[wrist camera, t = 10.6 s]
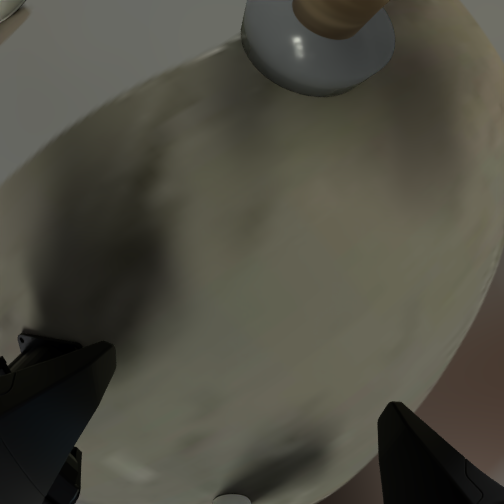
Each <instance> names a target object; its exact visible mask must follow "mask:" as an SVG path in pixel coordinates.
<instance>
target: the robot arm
mask: <svg viewBox="0 0 504 504" xmlns="http://www.w3.org/2000/svg"><path fill="white" fill-rule="evenodd" d="M22 338H23V339H24V340H23V339H22ZM18 342H19V346H20V350H21V354H20V355H19V356H18V357H17V358H16V359H15V360H14V361H13V362H11V363H10V364H9V365H8V366H7V364H6V363H7V362H6V361H5V359H4V358H3V356H1V357H0V504H75V503H76V501H77V499H78V497H79V494H80V489H81V459H82V452H81V451H80V450H79V449H78V448H77V447H74V445H75V444H76V442H77V440H78V439H79V437H80V435H81V434H82V432H83V430H84V429H85V427H86V425H87V424H88V422H89V420H90V419H91V417H92V416H93V414H94V412H95V411H96V409H97V407H98V405H99V403H100V401H101V399H102V397H103V395H104V393H105V391H106V388H107V386H108V384H109V382H110V380H111V378H112V376H113V374H114V372H115V369H116V351H115V346H114V345H113V344H111V343H108V342H106V341H101V342H98V343H95V344H93V345H90V346H87V347H84V348H82V346H81V344H79V343H77V342H72V341H65V340H59V339H53V338H47V337H41V336H36V335H31V334H26V333H21V334H20V335H18ZM75 348H77V349H78V350H76V349H75ZM377 425H378V453H379V466H380V474H381V483H382V492H383V501H384V504H504V487H503V486H501V485H500V484H499V483H497V482H496V481H494V480H493V479H491V478H490V477H488V476H487V475H486V474H484V473H483V472H482V471H480V470H479V469H478V468H477V467H475V466H474V465H473V464H472V463H471V462H469V461H468V460H467V459H465V457H464V456H463V455H461V454H460V453H459V452H458V451H457V450H455V449H454V448H453V447H452V446H451V445H450V444H449V443H447V442H446V441H445V440H444V439H443V438H442V437H441V436H439V435H438V434H437V433H436V432H435V431H434V430H433V429H431V428H430V427H429V426H428V425H427V424H426V423H424V422H423V421H422V420H421V419H420V418H419V417H418V416H416V415H415V414H414V413H413V412H412V411H411V410H410V409H409V408H408V407H406V406H405V405H404V404H403V403H402V402H395V401H392V402H389V403H388V405H387V406H386V408H385V409H384V411H383V412H382V414H381V415H380V417H379V419H378V424H377Z"/></svg>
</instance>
